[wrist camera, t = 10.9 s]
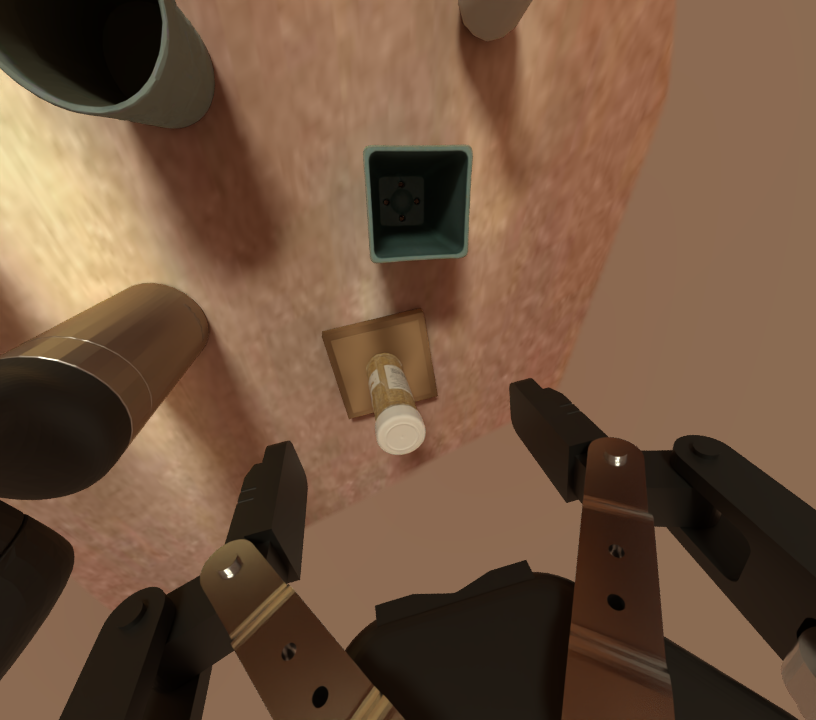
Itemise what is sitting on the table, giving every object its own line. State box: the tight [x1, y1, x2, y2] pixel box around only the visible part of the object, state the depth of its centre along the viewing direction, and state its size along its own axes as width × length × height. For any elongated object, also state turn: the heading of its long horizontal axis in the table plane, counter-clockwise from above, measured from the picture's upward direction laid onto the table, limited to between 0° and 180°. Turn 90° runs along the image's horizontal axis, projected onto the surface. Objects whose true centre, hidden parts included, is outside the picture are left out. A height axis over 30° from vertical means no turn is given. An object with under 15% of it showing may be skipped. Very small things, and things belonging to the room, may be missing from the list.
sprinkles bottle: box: [366, 353, 426, 455], centre depth 38 cm, size 5×5×14 cm
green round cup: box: [0, 0, 215, 128], centre depth 24 cm, size 10×10×12 cm
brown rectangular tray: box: [322, 308, 438, 419], centre depth 45 cm, size 12×12×2 cm
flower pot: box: [363, 145, 473, 263], centre depth 33 cm, size 9×9×9 cm
